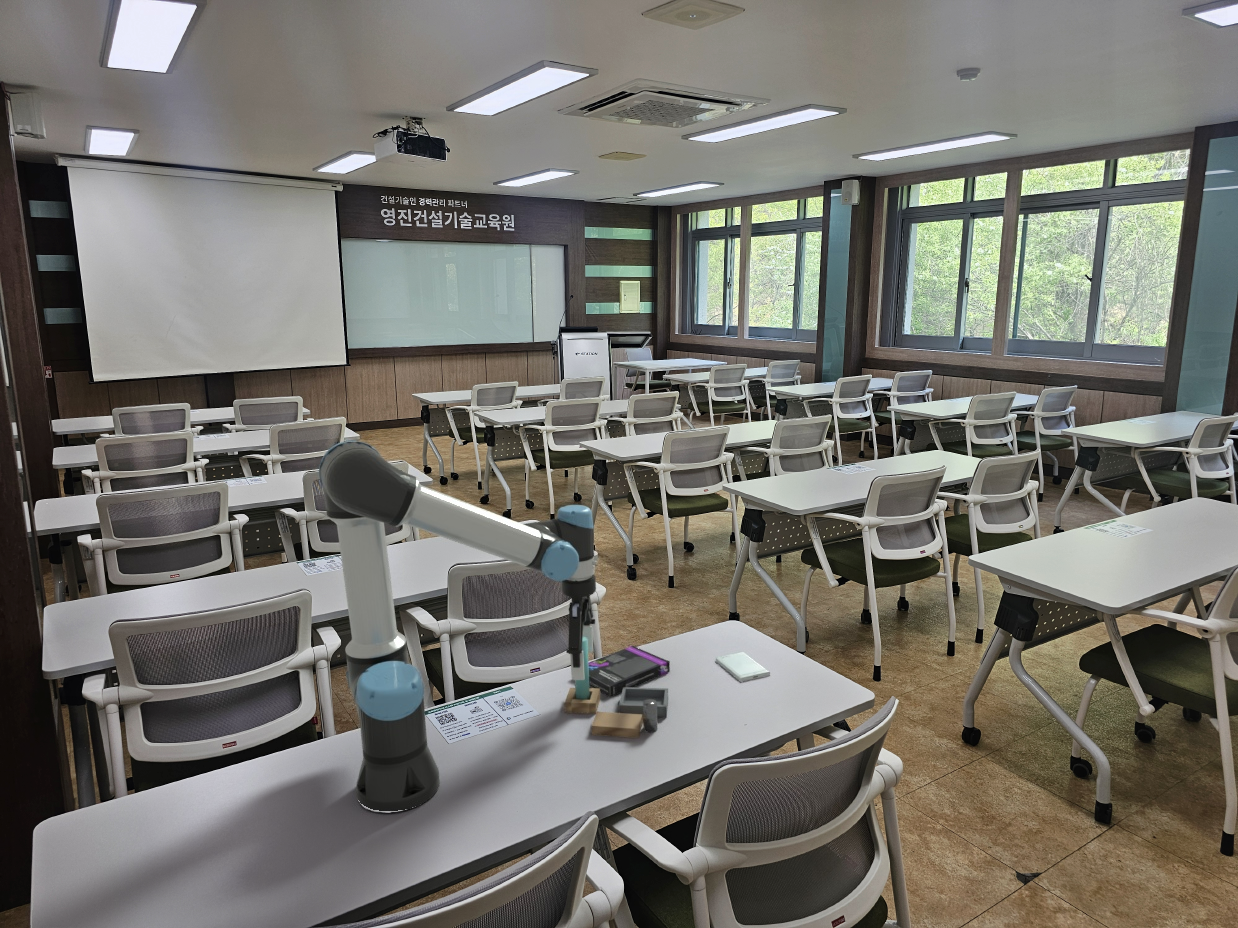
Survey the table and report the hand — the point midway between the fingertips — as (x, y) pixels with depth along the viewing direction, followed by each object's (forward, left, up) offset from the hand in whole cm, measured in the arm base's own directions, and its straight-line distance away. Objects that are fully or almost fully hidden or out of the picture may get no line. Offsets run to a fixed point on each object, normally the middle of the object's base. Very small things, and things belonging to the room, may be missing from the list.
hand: (582, 665), depth 177 cm
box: (+7, +16, -11) cm, 20 cm away
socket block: (0, 0, -10) cm, 10 cm away
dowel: (0, 0, -10) cm, 10 cm away
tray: (+14, 0, -10) cm, 17 cm away
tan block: (+9, -10, -10) cm, 17 cm away
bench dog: (+16, -9, -10) cm, 21 cm away
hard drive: (+36, +21, -11) cm, 43 cm away
